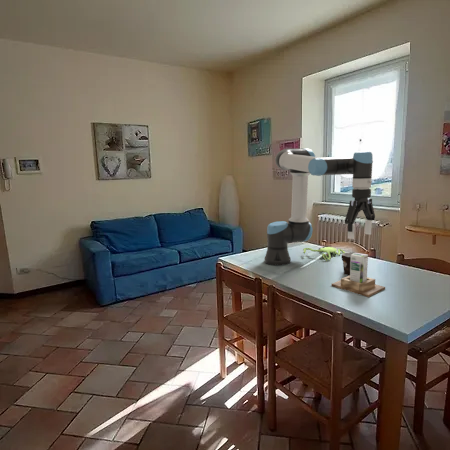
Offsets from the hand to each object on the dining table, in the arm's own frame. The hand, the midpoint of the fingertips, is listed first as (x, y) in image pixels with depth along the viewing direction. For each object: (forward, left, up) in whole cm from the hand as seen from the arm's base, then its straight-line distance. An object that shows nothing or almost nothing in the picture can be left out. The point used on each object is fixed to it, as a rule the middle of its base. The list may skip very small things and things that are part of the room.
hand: (359, 236), depth 145 cm
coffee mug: (-14, +16, -24) cm, 32 cm away
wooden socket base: (0, 0, -24) cm, 24 cm away
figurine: (-43, +33, -24) cm, 59 cm away
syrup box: (0, 0, -23) cm, 23 cm away
